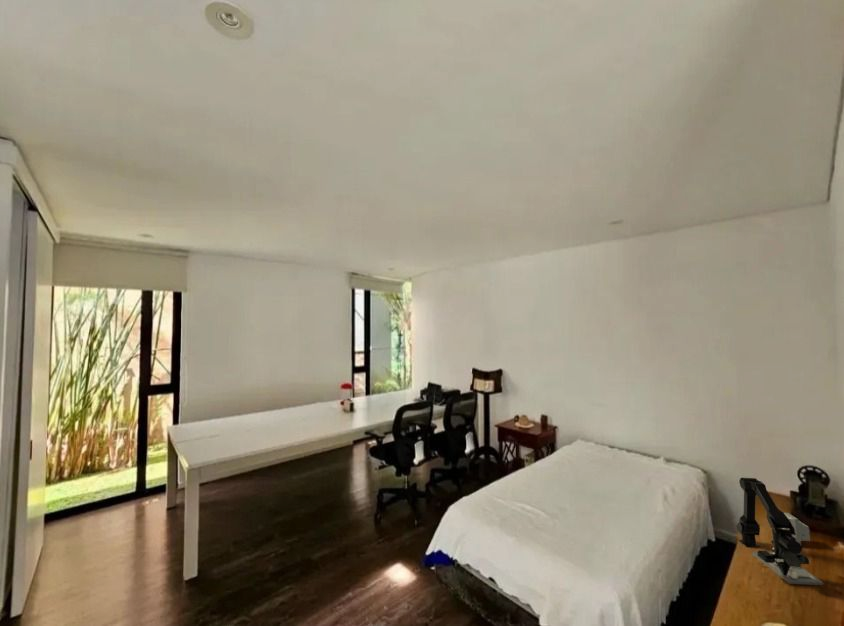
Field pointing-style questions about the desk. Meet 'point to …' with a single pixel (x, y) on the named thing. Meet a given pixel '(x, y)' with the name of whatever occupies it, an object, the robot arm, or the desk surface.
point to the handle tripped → (792, 573)
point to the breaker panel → (802, 577)
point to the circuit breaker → (799, 529)
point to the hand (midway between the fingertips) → (784, 575)
